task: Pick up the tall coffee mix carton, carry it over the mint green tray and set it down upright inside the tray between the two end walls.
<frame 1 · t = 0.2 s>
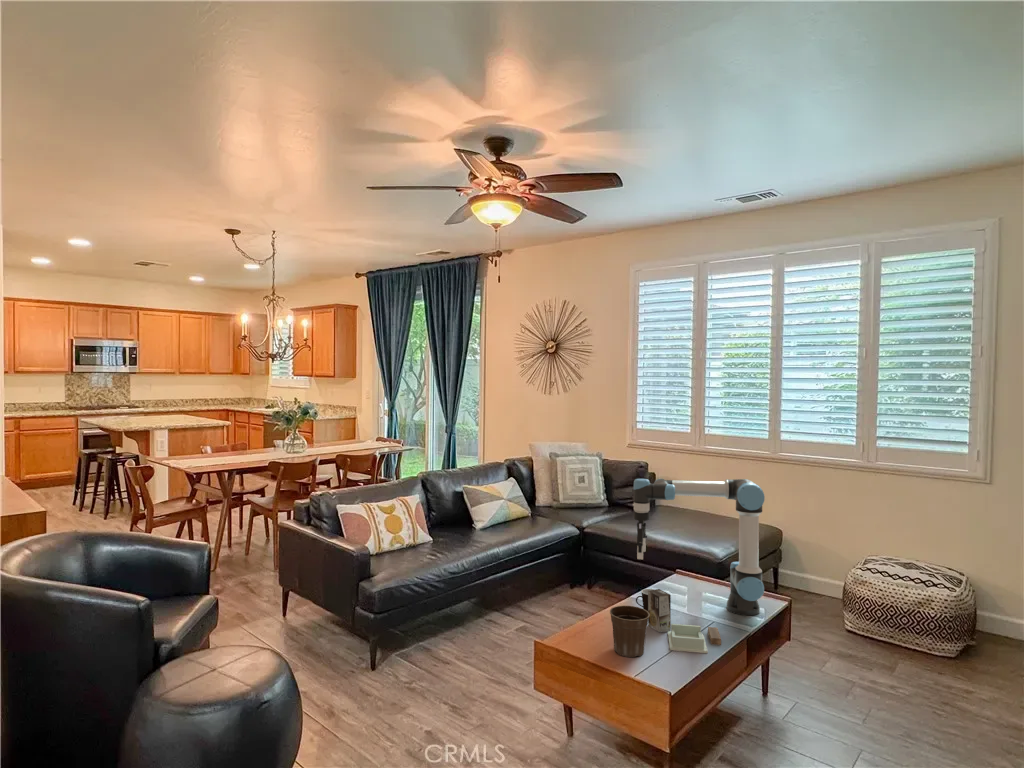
hand: (641, 555, 293), 28 cm above the table, fingers open, 13 cm apart
coffee box: (659, 628, 275), on the table
mint green tray: (687, 643, 259), on the table
brown wooden block: (714, 639, 263), on the table
coffee mug: (647, 612, 293), on the table
plant pot: (629, 651, 251), on the table
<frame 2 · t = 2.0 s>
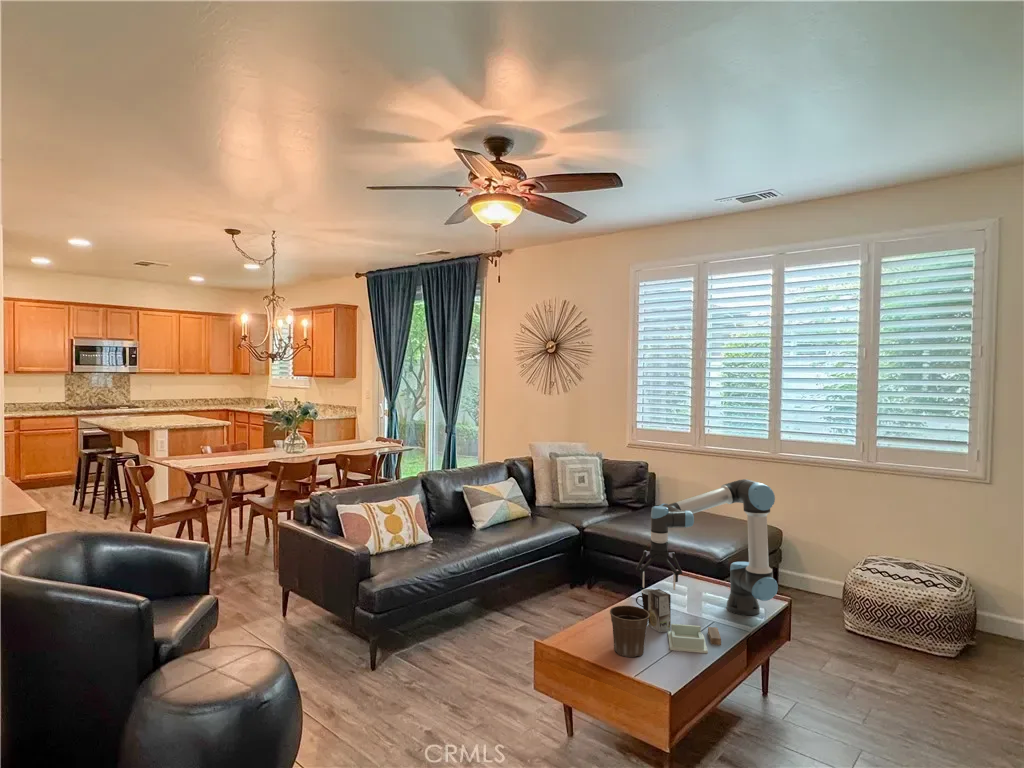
hand: (658, 587, 274), 18 cm above the table, fingers open, 13 cm apart
nothing on the table moved.
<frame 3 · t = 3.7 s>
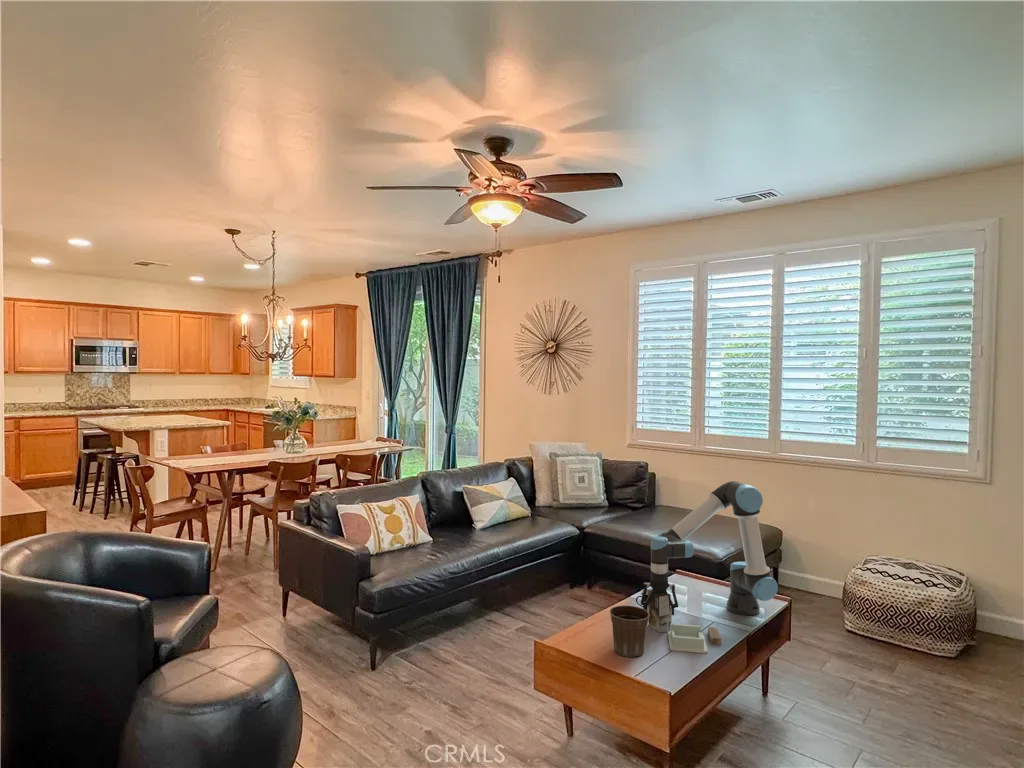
hand: (659, 621, 275), 3 cm above the table, fingers closed on coffee box, 9 cm apart
coffee box: (659, 628, 275), on the table, touching gripper
everything else where it was.
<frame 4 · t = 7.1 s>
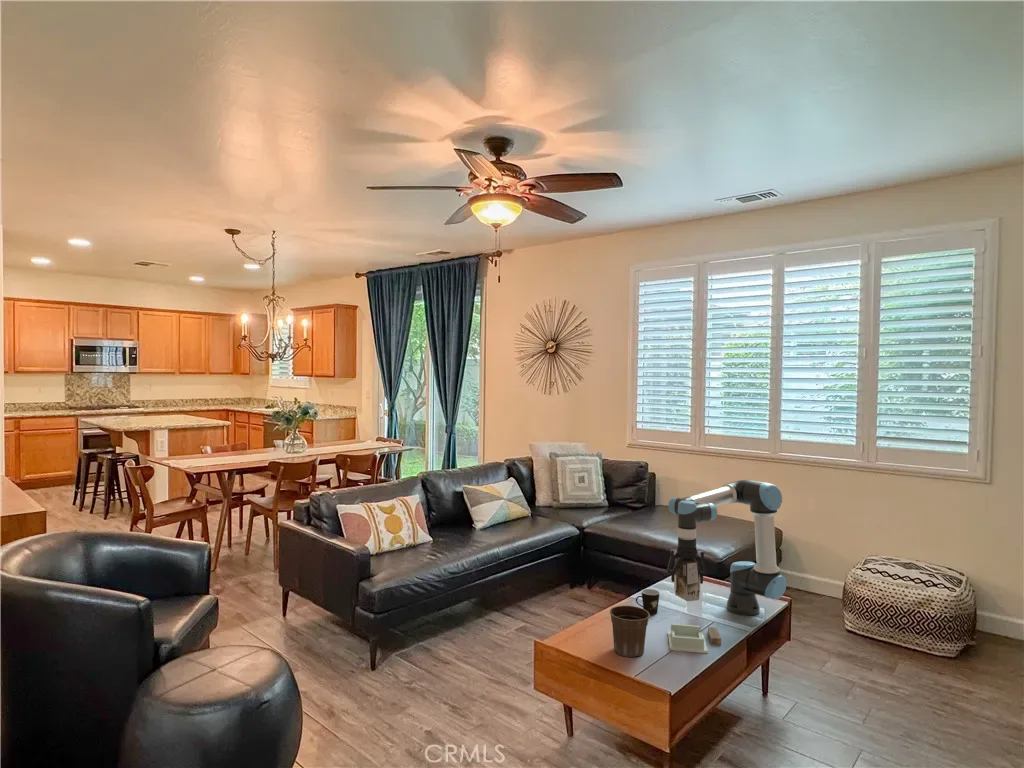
hand: (687, 590, 259), 23 cm above the table, fingers closed on coffee box, 9 cm apart
coffee box: (687, 597, 259), point 19 cm above the table, touching gripper
everything else where it was.
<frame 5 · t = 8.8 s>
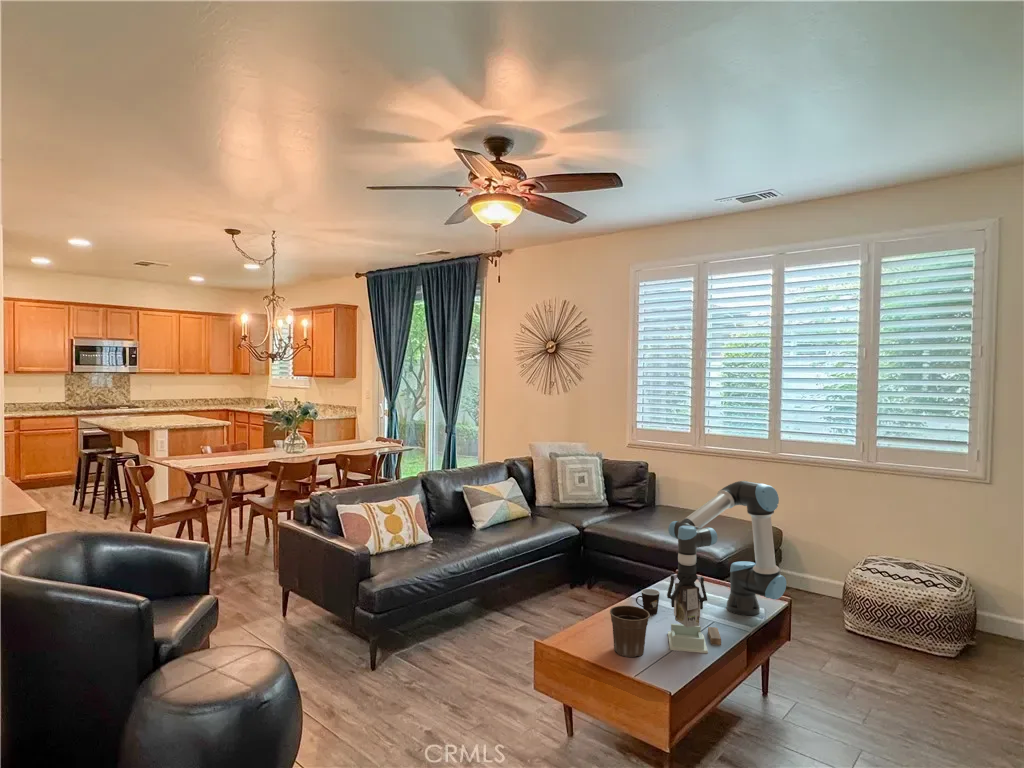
hand: (686, 615, 259), 12 cm above the table, fingers closed on coffee box, 9 cm apart
coffee box: (686, 623, 259), point 8 cm above the table, touching gripper
everything else where it was.
when the fingers open (6 cm above the table, at t = 10.5 s): coffee box drops 2 cm, resting on mint green tray.
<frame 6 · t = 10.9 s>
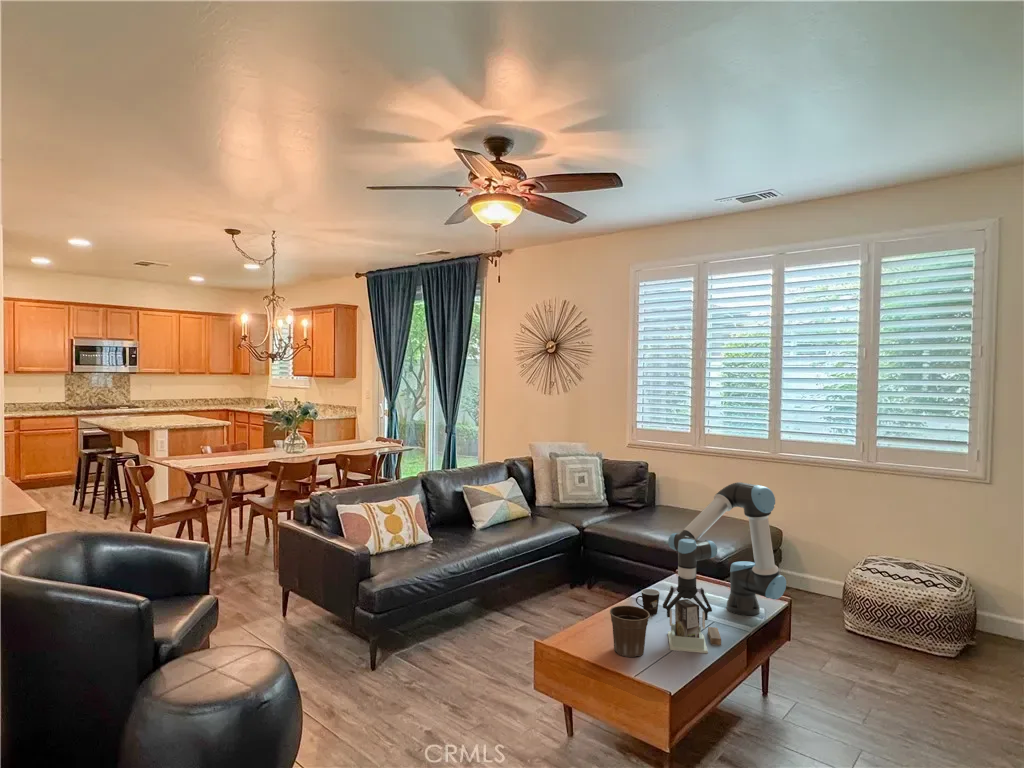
hand: (687, 626, 259), 7 cm above the table, fingers open, 13 cm apart
coffee box: (687, 641, 259), point 1 cm above the table, touching mint green tray
everything else where it was.
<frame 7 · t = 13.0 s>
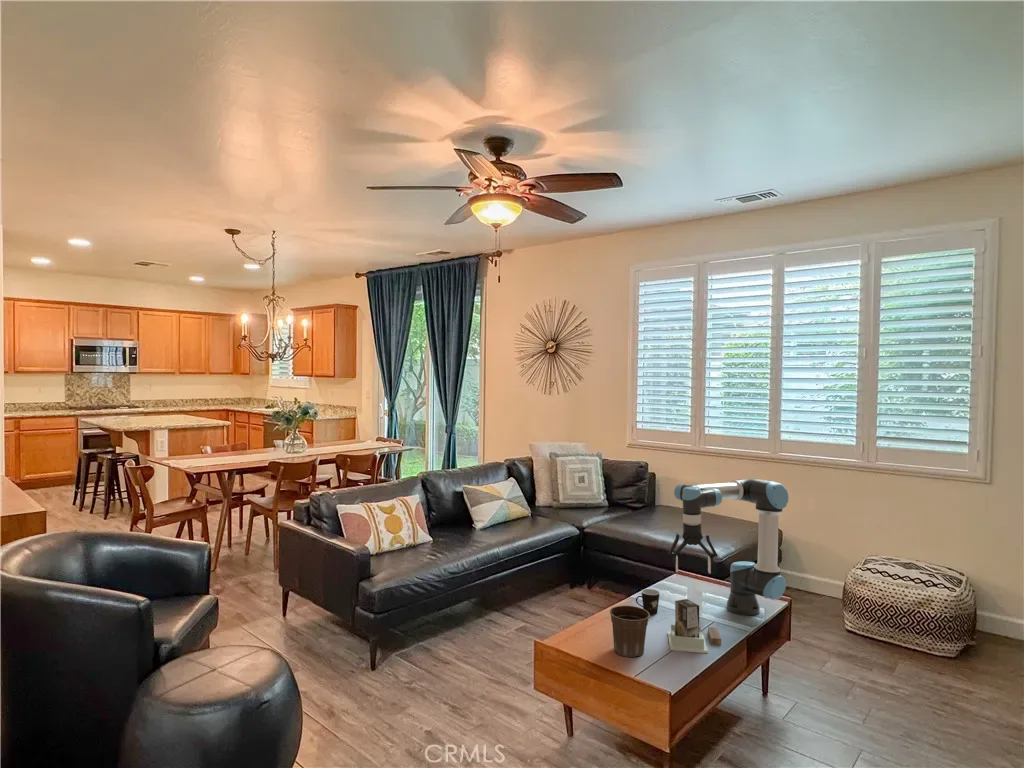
hand: (693, 571, 263), 29 cm above the table, fingers open, 13 cm apart
nothing on the table moved.
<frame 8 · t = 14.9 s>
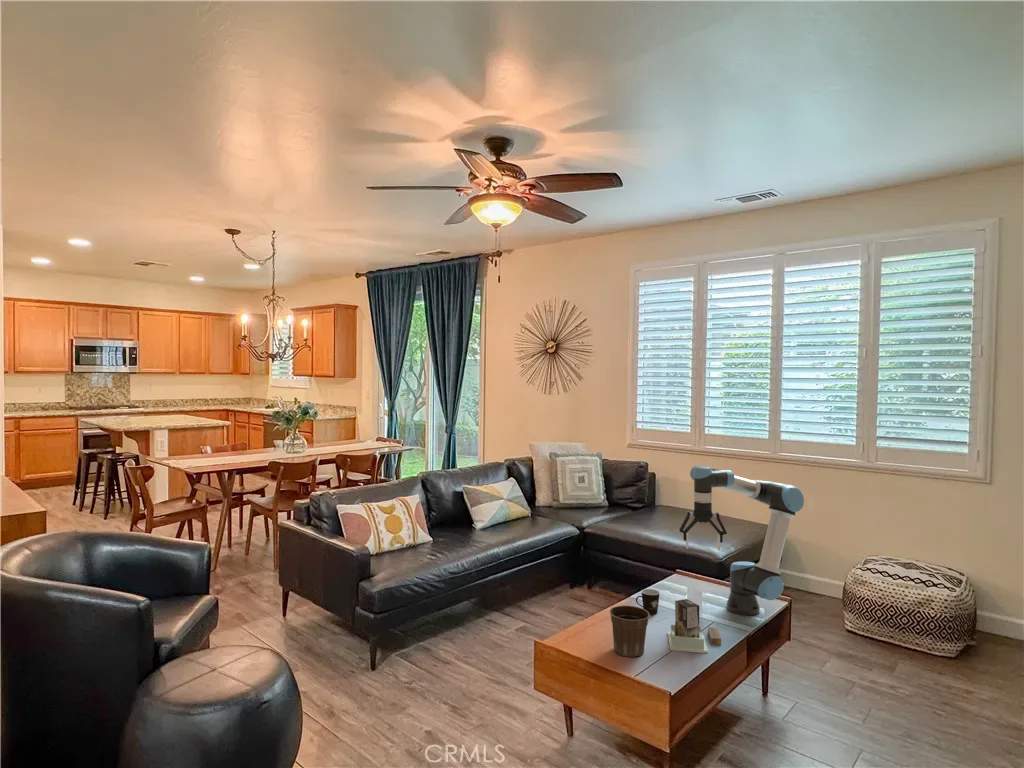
hand: (702, 548, 272), 37 cm above the table, fingers open, 13 cm apart
nothing on the table moved.
at the end: coffee box inside the target area on the mint green tray (0.1 cm from its centre), point 0.8 cm above the mint green tray's base; coffee box tilted 0°; the gripper is holding nothing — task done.
